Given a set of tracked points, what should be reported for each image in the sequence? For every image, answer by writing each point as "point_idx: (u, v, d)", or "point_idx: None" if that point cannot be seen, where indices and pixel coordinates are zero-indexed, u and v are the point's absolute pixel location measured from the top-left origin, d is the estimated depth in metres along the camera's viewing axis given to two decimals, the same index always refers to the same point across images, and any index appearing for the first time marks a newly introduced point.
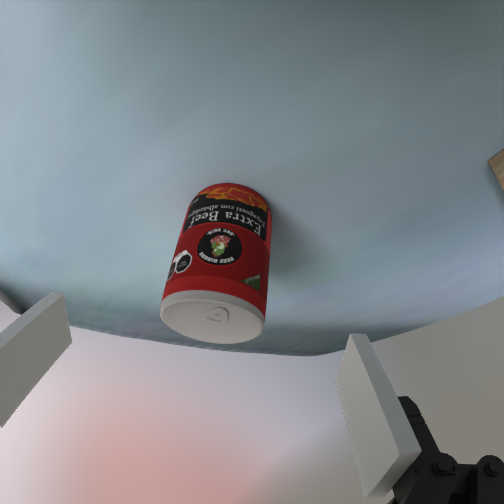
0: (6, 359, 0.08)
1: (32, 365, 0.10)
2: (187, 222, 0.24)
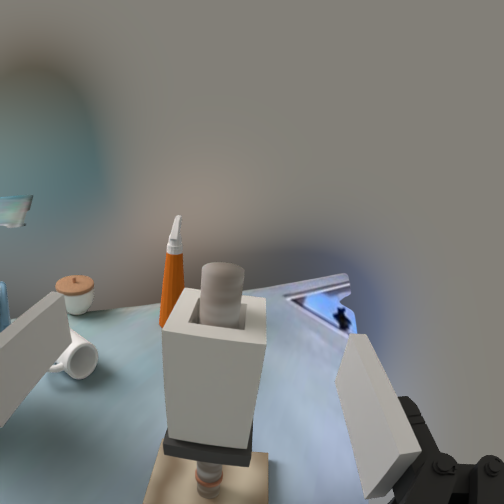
0: (6, 359, 0.08)
1: (32, 365, 0.10)
2: None
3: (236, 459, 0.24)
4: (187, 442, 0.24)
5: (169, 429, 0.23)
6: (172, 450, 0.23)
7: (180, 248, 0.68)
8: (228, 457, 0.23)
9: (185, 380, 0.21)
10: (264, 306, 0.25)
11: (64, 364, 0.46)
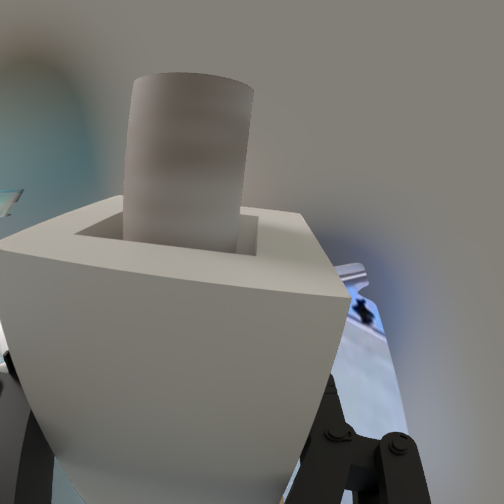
0: None
1: None
2: None
3: None
4: None
5: None
6: None
7: None
8: None
9: (77, 419, 0.06)
10: (302, 222, 0.10)
11: None
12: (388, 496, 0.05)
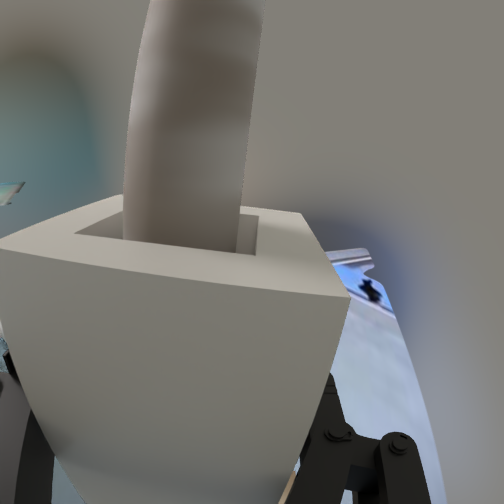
0: None
1: None
2: None
3: None
4: None
5: (88, 503, 0.08)
6: None
7: None
8: None
9: (76, 418, 0.06)
10: (303, 222, 0.10)
11: (0, 328, 0.29)
12: (388, 496, 0.05)
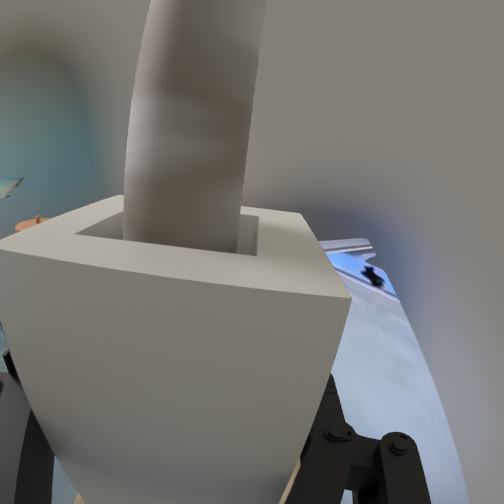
0: None
1: None
2: None
3: None
4: None
5: None
6: None
7: None
8: None
9: (77, 419, 0.06)
10: (303, 222, 0.10)
11: None
12: (388, 496, 0.05)
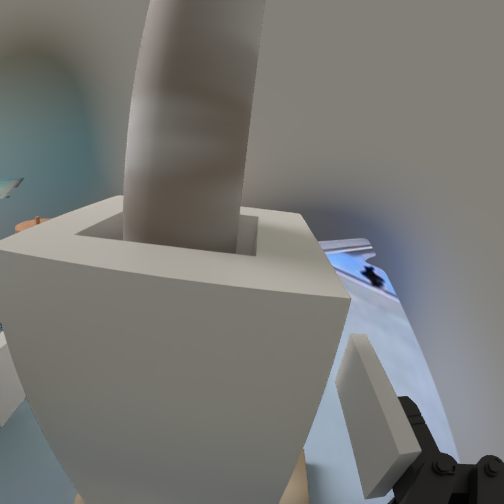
0: (6, 359, 0.08)
1: None
2: None
3: None
4: None
5: None
6: None
7: None
8: None
9: (77, 419, 0.06)
10: (302, 222, 0.10)
11: None
12: None
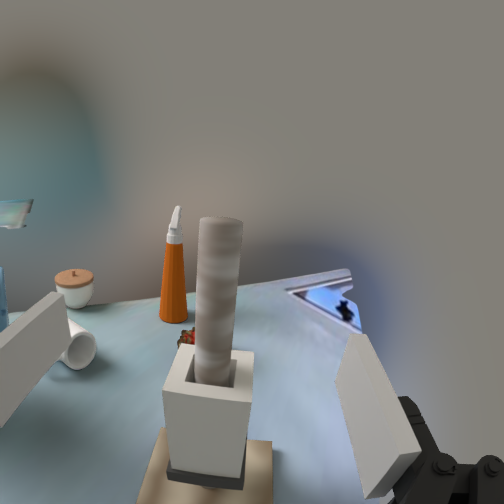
0: (6, 359, 0.08)
1: (32, 365, 0.10)
2: None
3: (231, 484, 0.25)
4: None
5: (172, 462, 0.25)
6: (175, 476, 0.25)
7: (180, 238, 0.68)
8: (224, 482, 0.25)
9: (184, 427, 0.23)
10: (252, 361, 0.27)
11: None
12: None
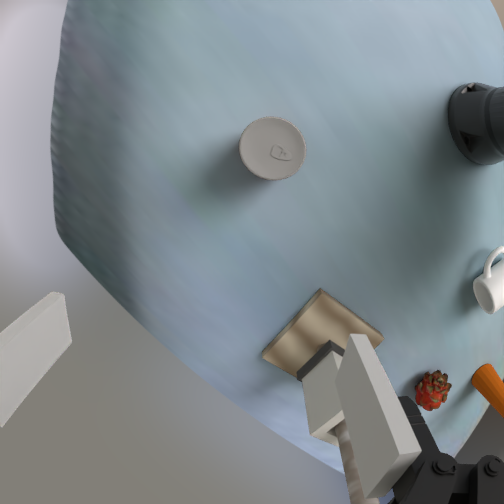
0: (6, 359, 0.08)
1: (32, 365, 0.10)
2: None
3: (301, 372, 0.47)
4: None
5: (332, 355, 0.43)
6: (326, 347, 0.45)
7: None
8: (305, 369, 0.47)
9: (333, 390, 0.38)
10: (338, 445, 0.36)
11: (486, 279, 0.45)
12: None
